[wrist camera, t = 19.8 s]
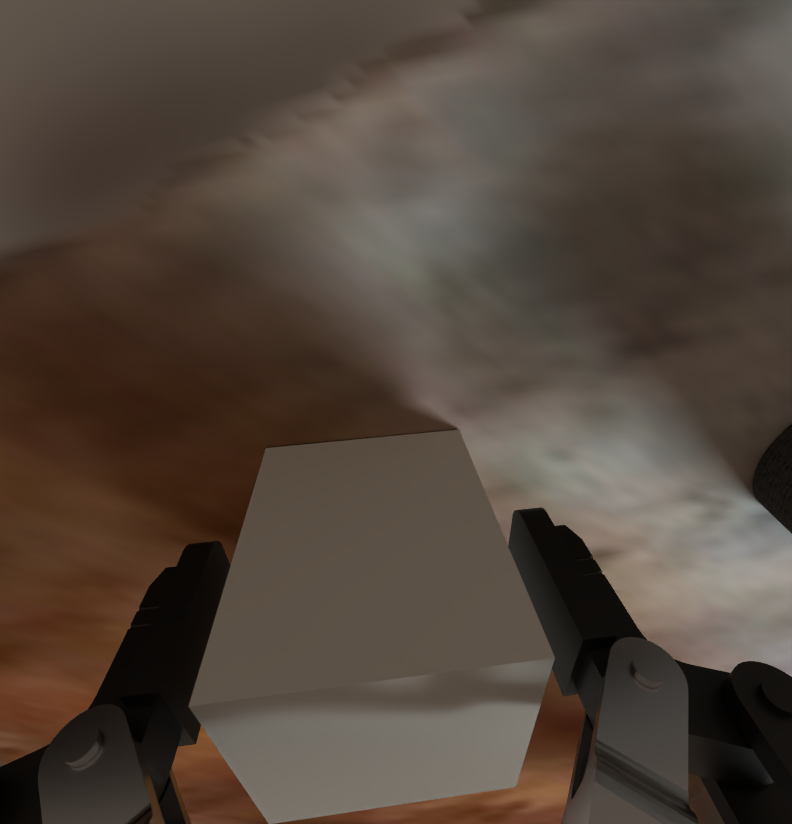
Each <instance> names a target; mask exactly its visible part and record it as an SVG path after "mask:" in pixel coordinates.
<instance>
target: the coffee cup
mask: <svg viewBox="0 0 792 824" xmlns="http://www.w3.org/2000/svg"><path fill="white" fill-rule="evenodd" d="M753 489H754V494H755V496H756V498H757V500H758V501H759V502H760V503H761V504H762V505H763V506H764V507H765V508H766V509H767V510H768V511H769V512H770V513H771V514H772V515H773V516H774V517H775V518H776V519H777V520H778V521H779V522H780V523H781V524H782V525H783V526H784V527H786V528H787V529H788V530H789V531H790V532H791V533H792V425H791V426H790V427H789V428H788V429H787V430H786V431H785V432H784V433H782V434H781V435H780V437H779V438H778V439H777V440H776V441H775V442H774V443H773V444H772V445H771V447H770V448H769V449H768V451H767V452H766V453H765V455H764V456H763V458H762V460H761V462H760V463H759V465H758V468H757V470H756V473H755V476H754V482H753Z"/></svg>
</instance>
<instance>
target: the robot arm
mask: <svg viewBox="0 0 792 824" xmlns="http://www.w3.org/2000/svg"><path fill="white" fill-rule="evenodd" d="M508 547H509V550H510V552H511V554H512V557H513V559H514V561H515V564H516V566H517V569H518V571H519V573H520V576H521V578H522V580H523V583H524V585H525V588H526V590H527V592H528V595H529V597H530V599H531V602H532V604H533V607H534V609H535V611H536V614H537V616H538V618H539V621H540V623H541V626H542V628H543V630H544V633H545V635H546V637H547V640H548V642H549V645H550V647H551V649H552V652H553V654H554V656H555V659H554V663H553V666H552V669H553V672H554V674H555V677H556V679H557V682H558V684H559V687H560V689H561V692H562V694H563V696H568V695H576V694H578V695H579V697H580V699H581V702H582V704H583V706H584V708H585V711H584V714H583V719H582V725H581V730H580V735H579V741H578V746H577V751H576V757H575V762H574V767H573V773H572V778H571V783H570V788H569V794H568V799H567V803H566V808H565V811H564V815H563V818H562V822H561V824H792V677H791V676H789V675H788V674H786V673H785V672H783V671H781V670H779V669H777V668H775V667H773V666H770V665H768V664H764V663H761V662H755V661H747V662H742V663H740V664H738V665H737V666H736V667H735V668H734V669H733V671H732V672H731V673H728V672H723V671H718V670H714V669H709V668H704V667H699V666H695V665H690V664H686V663H683V662H680V661H677V660H675V659H673V658H672V657H671V656H670V655H669V654H668V653H667V652H666V651H665V650H663V649H662V648H661V647H659V646H658V645H656V644H654V643H652V642H650V641H648V640H647V639H646V638H645V637H644V636H643V635H642V633H641V632H640V631H639V629H638V628H637V626H636V625H635V623H634V621H633V620H632V618H631V617H630V615H629V613H628V612H627V610H626V609H625V607H624V605H623V604H622V602H621V601H620V599H619V598H618V596H617V594H616V593H615V591H614V590H613V588H612V586H611V585H610V583H609V582H608V580H607V578H606V577H605V575H603V574H602V571H601V569H600V567H599V566H598V564H597V563H596V561H595V560H593V556H592V555H591V553H590V551H589V550H588V548H587V547H586V545H585V543H584V542H583V540H582V539H581V538H580V537H579V536H577V535H576V534H575V533H574V532H573V531H572V530H570V529H569V528H568V527H567V526H566V525H560V526H554V524H553V522H552V521H551V519H550V517H549V515H548V514H547V512H546V511H545V510H544V509H543V508H532V509H523V510H515V511H514V513H513V518H512V525H511V532H510V538H509V545H508ZM229 569H230V564H229V561H228V559H227V556H226V554H225V551H224V549H223V546H222V544H221V543H220V542H219V541H213V542H204V543H195V544H189V545H187V546H186V547H185V549H184V551H183V553H182V555H181V557H180V559H179V562H178V564H177V566H176V567H168V568H165V570H164V571H163V572H162V573H161V574H160V575H159V576H158V577H157V578H156V580H155V581H154V582H153V583H152V584H151V585H150V586H149V588H148V590H147V592H146V594H145V596H144V598H143V600H142V602H141V604H140V607H139V611H137V613H136V615H135V617H134V619H133V621H132V623H131V628H130V629H128V631H127V633H126V635H125V637H124V639H123V642H122V644H121V646H120V648H119V650H118V652H117V654H116V656H115V658H114V660H113V662H112V664H111V666H110V668H109V670H108V672H107V675H106V677H105V679H104V681H103V683H102V685H101V687H100V689H99V691H98V693H97V695H96V697H95V699H94V701H93V702H92V704H91V705H90V707H89V708H88V710H86V711H84V712H82V713H81V714H79V715H78V716H76V717H75V718H74V719H72V720H71V721H70V722H69V723H68V724H66V725H65V726H64V727H63V728H62V729H61V730H60V732H59V733H58V734H57V735H56V736H55V738H54V739H53V740H52V741H51V743H50V744H49V745H47V746H45V747H43V748H41V749H39V750H37V751H35V752H32V753H30V754H28V755H26V756H24V757H21V758H19V759H17V760H15V761H13V762H10V763H8V764H6V765H4V766H2V767H0V824H191V822H190V819H189V816H188V813H187V810H186V807H185V804H184V801H183V798H182V795H181V792H180V790H179V787H178V784H177V781H176V778H175V775H174V772H173V770H172V768H171V767H172V764H173V761H174V757H175V754H176V751H177V747H178V746H185V745H193V744H196V741H197V738H198V734H199V730H200V727H201V724H200V723H199V721H198V720H197V718H196V717H195V715H194V714H193V712H192V711H191V709H190V708H189V707H188V706H189V703H190V700H191V696H192V693H193V690H194V686H195V683H196V680H197V676H198V673H199V670H200V666H201V663H202V660H203V656H204V653H205V650H206V646H207V643H208V640H209V636H210V633H211V629H212V626H213V623H214V619H215V616H216V613H217V609H218V606H219V603H220V599H221V596H222V593H223V589H224V586H225V583H226V579H227V576H228V573H229Z"/></svg>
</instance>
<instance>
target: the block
mask: <svg viewBox="0 0 792 824" xmlns="http://www.w3.org/2000/svg"><path fill="white" fill-rule="evenodd" d="M554 659H555V656H554V654H553V652H552V649H551V647H550V645H549V642H548V640H547V637H546V635H545V633H544V630H543V628H542V626H541V623H540V621H539V618H538V616H537V614H536V611H535V609H534V607H533V604H532V602H531V599H530V597H529V595H528V592H527V590H526V588H525V585H524V583H523V580H522V578H521V576H520V573H519V571H518V569H517V566H516V564H515V561H514V559H513V557H512V554H511V552H510V550H509V547H508V545H507V542H506V540H505V538H504V535H503V533H502V531H501V528H500V526H499V523H498V521H497V519H496V516H495V514H494V512H493V509H492V507H491V504H490V502H489V500H488V497H487V495H486V493H485V490H484V488H483V485H482V483H481V481H480V478H479V476H478V474H477V471H476V469H475V466H474V464H473V462H472V459H471V457H470V455H469V452H468V450H467V447H466V445H465V443H464V440H463V438H462V436H461V433H460V431H459V430H449V431H439V432H429V433H418V434H408V435H397V436H387V437H377V438H366V439H356V440H345V441H335V442H325V443H314V444H304V445H293V446H283V447H273V448H266V449H265V453H264V456H263V459H262V463H261V466H260V469H259V473H258V476H257V479H256V483H255V486H254V489H253V493H252V496H251V499H250V503H249V506H248V509H247V513H246V516H245V519H244V523H243V526H242V529H241V533H240V536H239V539H238V543H237V546H236V549H235V553H234V556H233V559H232V563H231V566H230V569H229V573H228V576H227V579H226V583H225V586H224V589H223V593H222V596H221V599H220V603H219V606H218V609H217V613H216V616H215V619H214V623H213V626H212V629H211V633H210V636H209V640H208V643H207V646H206V650H205V653H204V656H203V660H202V663H201V666H200V670H199V673H198V676H197V680H196V683H195V686H194V690H193V693H192V696H191V700H190V703H189V706H188V707H189V708H190V709H191V711H192V712H193V714H194V715H195V717H196V718H197V720H198V721H199V723H200V724H201V726H202V727H203V728H204V730H205V731H206V733H207V734H208V736H209V737H210V739H211V740H212V742H213V743H214V745H215V746H216V747H217V749H218V750H219V752H220V753H221V755H222V756H223V758H224V759H225V761H226V762H227V764H228V765H229V766H230V768H231V769H232V771H233V772H234V774H235V775H236V777H237V778H238V780H239V781H240V783H241V784H242V785H243V787H244V788H245V790H246V791H247V793H248V794H249V796H250V797H251V799H252V800H253V802H254V803H255V805H256V806H257V807H258V809H259V810H260V812H261V813H262V815H263V816H264V818H265V819H266V821H267V822H268V824H274V823H281V822H288V821H294V820H301V819H307V818H314V817H320V816H327V815H334V814H340V813H347V812H353V811H360V810H367V809H373V808H380V807H386V806H393V805H399V804H406V803H413V802H419V801H426V800H432V799H439V798H446V797H452V796H459V795H465V794H472V793H478V792H485V791H492V790H498V789H505V788H511V787H516V785H517V781H518V778H519V775H520V772H521V768H522V765H523V762H524V758H525V755H526V752H527V748H528V745H529V742H530V739H531V735H532V732H533V729H534V725H535V722H536V719H537V715H538V712H539V709H540V706H541V702H542V699H543V696H544V692H545V689H546V686H547V683H548V679H549V676H550V673H551V669H552V666H553V663H554Z"/></svg>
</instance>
